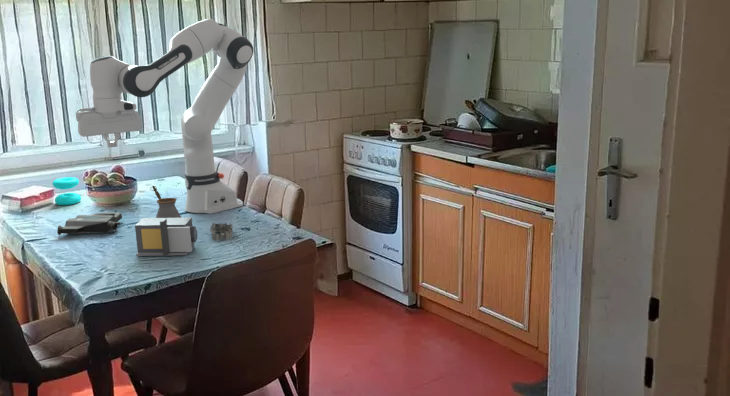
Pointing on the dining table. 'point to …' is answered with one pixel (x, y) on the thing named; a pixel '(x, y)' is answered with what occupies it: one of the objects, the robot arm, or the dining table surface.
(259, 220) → the dining table surface
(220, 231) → the egg carton
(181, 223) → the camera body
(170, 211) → the coffee pot
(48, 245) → the dining table surface
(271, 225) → the dining table surface
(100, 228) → the camcorder
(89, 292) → the dining table surface
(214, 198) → the robot arm
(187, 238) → the side door
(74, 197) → the donuts
